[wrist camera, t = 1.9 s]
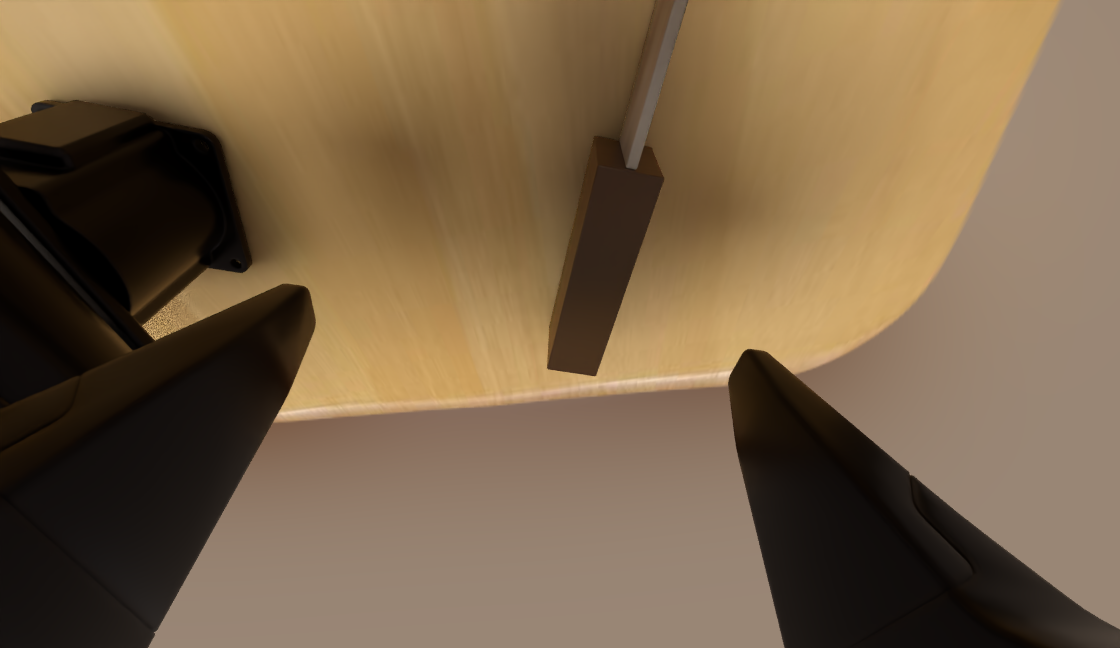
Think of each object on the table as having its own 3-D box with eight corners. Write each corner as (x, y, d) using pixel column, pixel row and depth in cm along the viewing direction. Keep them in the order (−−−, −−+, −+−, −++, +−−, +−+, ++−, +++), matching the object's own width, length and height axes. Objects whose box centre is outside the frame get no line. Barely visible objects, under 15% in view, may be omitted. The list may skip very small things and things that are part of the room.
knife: (593, 333, 25) (596, 377, 22) (549, 326, 24) (546, 369, 22) (771, -230, 12) (823, -275, 10) (685, -257, 12) (715, -309, 10)
